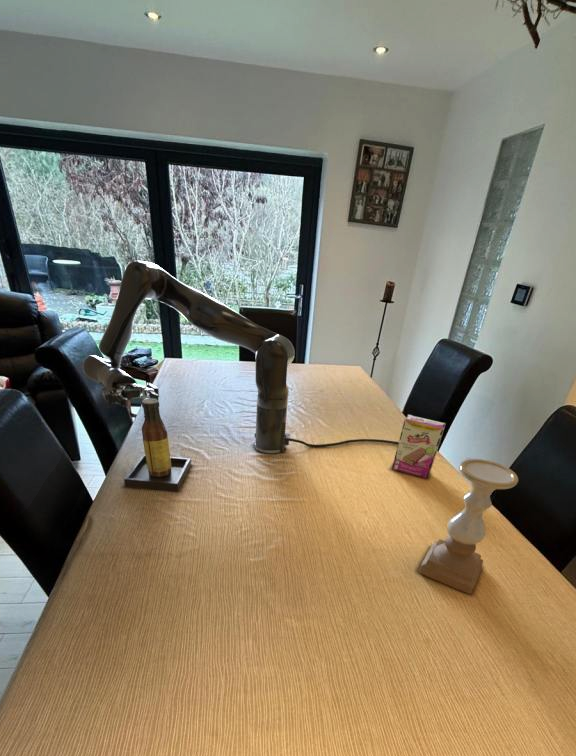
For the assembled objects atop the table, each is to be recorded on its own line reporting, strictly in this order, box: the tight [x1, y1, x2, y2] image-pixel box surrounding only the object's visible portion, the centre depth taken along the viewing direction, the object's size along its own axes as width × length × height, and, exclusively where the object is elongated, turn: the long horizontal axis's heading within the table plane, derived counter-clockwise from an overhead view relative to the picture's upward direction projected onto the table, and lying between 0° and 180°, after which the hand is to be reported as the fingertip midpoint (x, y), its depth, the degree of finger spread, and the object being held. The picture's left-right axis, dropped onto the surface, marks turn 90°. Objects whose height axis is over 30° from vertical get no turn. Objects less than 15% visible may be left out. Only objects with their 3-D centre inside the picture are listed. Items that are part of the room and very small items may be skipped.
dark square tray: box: [123, 453, 192, 492], centre depth 112 cm, size 14×15×2 cm
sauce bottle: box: [141, 398, 171, 477], centre depth 107 cm, size 7×6×20 cm
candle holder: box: [418, 458, 519, 595], centre depth 82 cm, size 11×11×24 cm
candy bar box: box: [391, 414, 447, 480], centre depth 122 cm, size 11×5×16 cm, turn 65°
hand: (141, 401), depth 111 cm, fingers open, 8 cm apart
